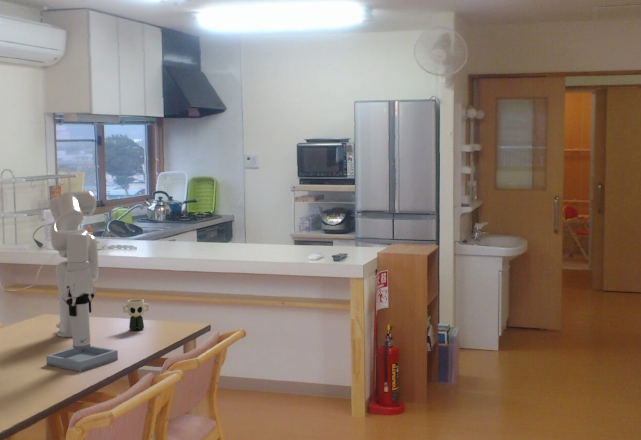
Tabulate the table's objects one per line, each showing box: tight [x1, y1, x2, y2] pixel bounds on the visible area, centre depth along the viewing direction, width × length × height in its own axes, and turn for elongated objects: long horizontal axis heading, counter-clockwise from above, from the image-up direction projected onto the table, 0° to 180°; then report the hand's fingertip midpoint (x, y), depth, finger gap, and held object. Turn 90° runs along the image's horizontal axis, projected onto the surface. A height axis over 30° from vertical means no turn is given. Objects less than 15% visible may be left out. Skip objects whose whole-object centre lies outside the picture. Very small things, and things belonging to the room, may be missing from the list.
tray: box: [45, 345, 119, 373], centre depth 287 cm, size 18×18×4 cm
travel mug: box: [71, 294, 91, 349], centre depth 286 cm, size 6×7×20 cm
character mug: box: [122, 298, 150, 331], centre depth 336 cm, size 11×7×13 cm, turn 106°
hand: (80, 313), depth 286 cm, fingers closed on travel mug, 6 cm apart
